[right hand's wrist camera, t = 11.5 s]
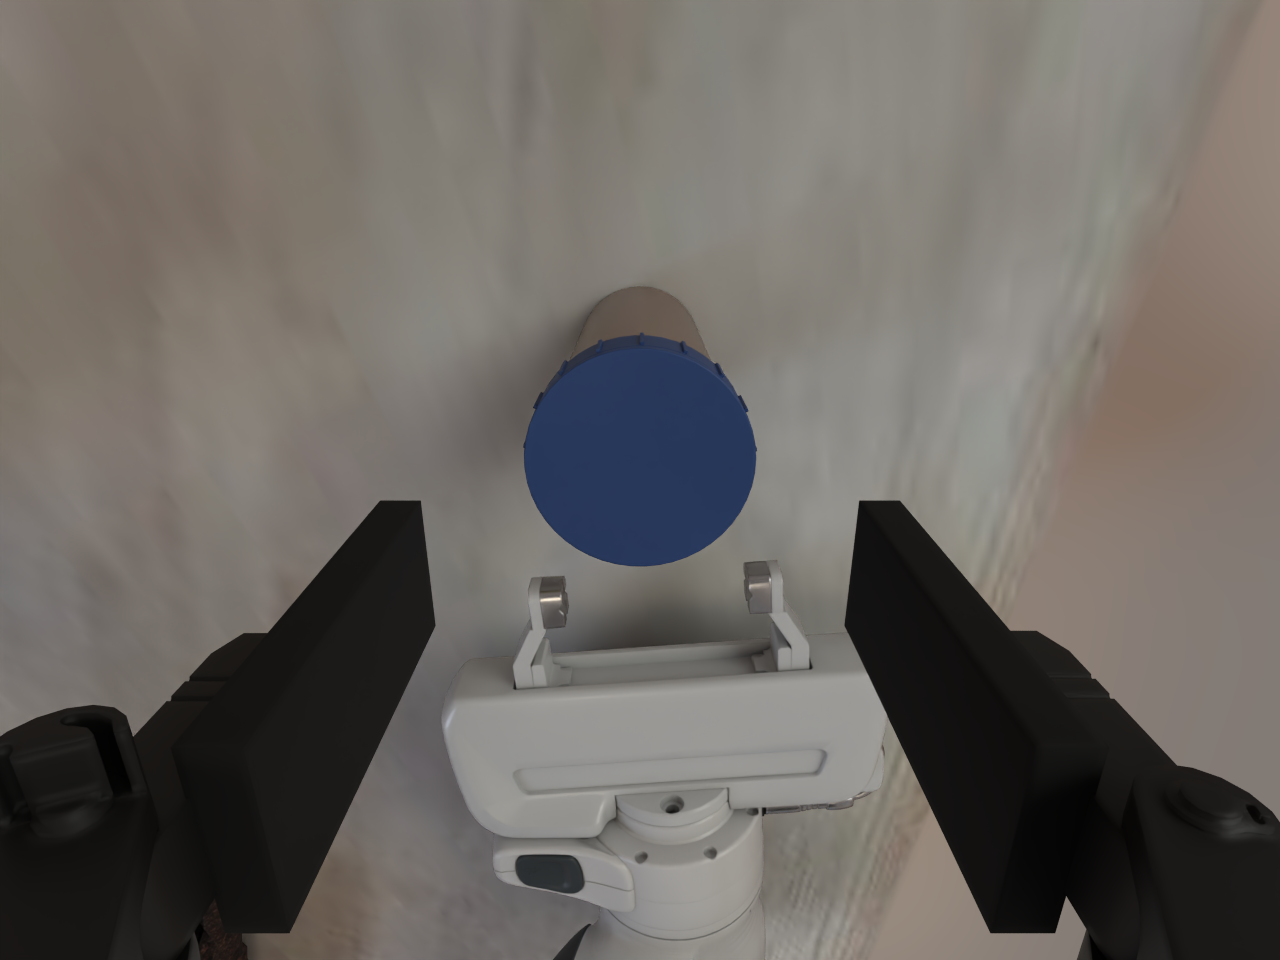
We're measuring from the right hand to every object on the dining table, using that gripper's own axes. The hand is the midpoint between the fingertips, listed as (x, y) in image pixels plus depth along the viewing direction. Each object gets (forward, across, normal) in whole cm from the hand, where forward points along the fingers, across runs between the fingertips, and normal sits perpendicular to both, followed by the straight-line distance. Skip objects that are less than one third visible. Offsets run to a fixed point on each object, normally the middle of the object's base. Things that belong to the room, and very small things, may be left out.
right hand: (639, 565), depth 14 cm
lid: (+6, 0, 0) cm, 6 cm away
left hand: (+16, -1, +9) cm, 18 cm away
